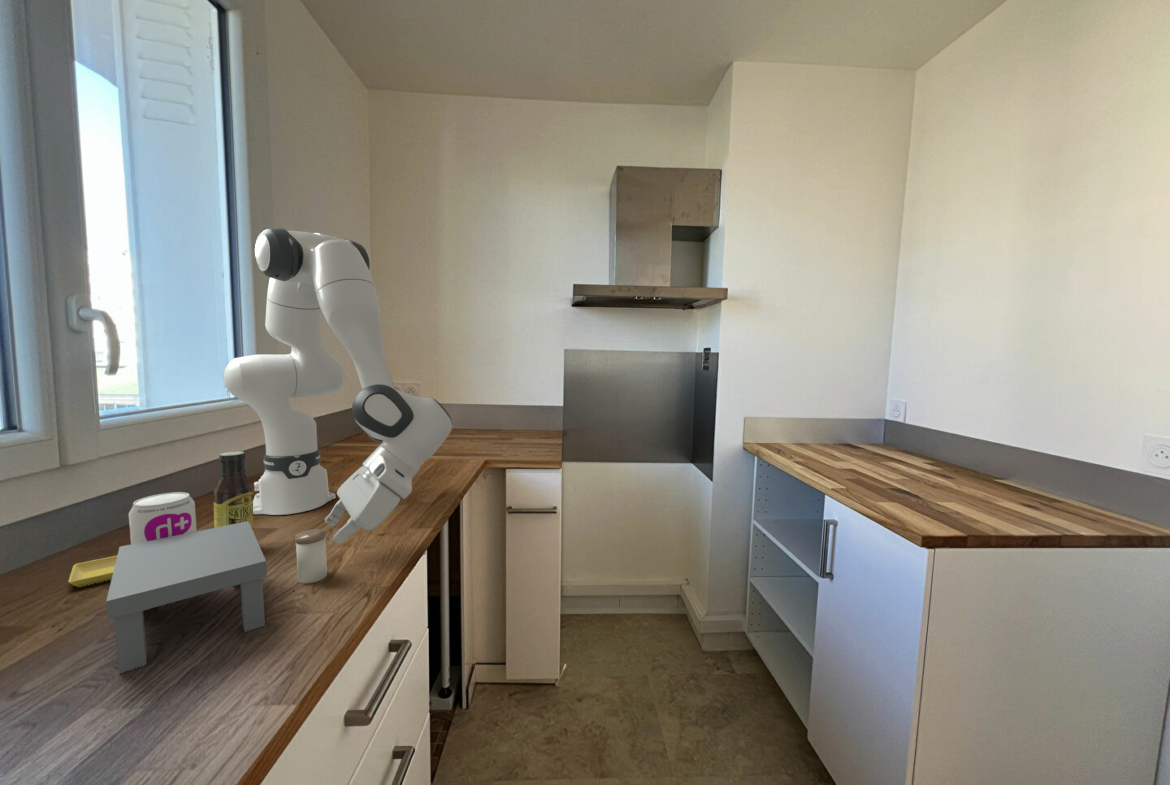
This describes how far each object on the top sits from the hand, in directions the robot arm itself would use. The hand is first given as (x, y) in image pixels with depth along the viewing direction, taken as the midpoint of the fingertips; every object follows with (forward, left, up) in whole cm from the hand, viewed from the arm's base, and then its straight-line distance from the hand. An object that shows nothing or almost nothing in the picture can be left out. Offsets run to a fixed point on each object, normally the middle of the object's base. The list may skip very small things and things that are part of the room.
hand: (331, 532), depth 82 cm
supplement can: (-14, -22, -8) cm, 28 cm away
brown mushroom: (0, -3, -8) cm, 8 cm away
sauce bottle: (-22, -12, -8) cm, 27 cm away
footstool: (+2, -19, -8) cm, 21 cm away
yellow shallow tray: (-25, -30, -8) cm, 40 cm away
